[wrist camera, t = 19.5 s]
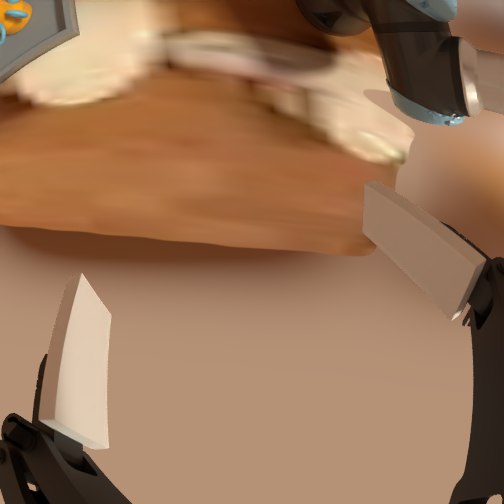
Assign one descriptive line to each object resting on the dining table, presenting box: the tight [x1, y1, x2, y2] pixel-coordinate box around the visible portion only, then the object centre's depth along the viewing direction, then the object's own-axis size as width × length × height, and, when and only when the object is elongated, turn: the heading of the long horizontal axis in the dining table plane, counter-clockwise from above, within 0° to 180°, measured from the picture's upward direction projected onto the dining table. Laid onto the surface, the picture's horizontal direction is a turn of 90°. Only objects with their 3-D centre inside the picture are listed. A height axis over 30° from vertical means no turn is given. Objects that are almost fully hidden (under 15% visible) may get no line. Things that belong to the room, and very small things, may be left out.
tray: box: [0, 0, 80, 84], centre depth 15 cm, size 20×20×4 cm
